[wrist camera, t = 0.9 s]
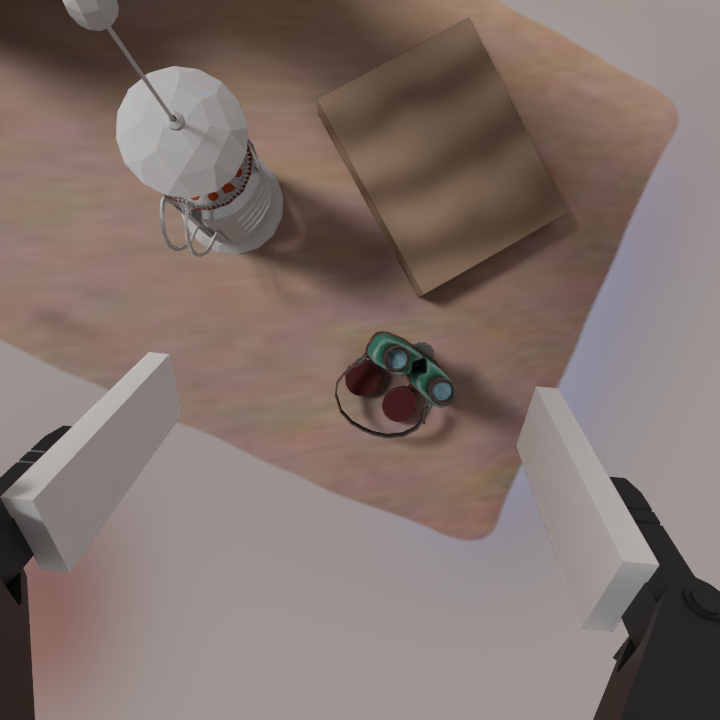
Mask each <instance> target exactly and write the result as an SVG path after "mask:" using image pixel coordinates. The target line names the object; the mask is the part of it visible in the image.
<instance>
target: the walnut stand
mask: <svg viewBox="0 0 720 720" xmlns="http://www.w3.org/2000/svg"><path fill="white" fill-rule="evenodd" d="M317 106H318V115H319V117H320V119H321V121H322V123H323V124H324V126H325V128H326V130H327V132H328V133H329V135H330V137H331V139H332V141H333V143H334V144H335V146H336V148H337V150H338V152H339V154H340V155H341V157H342V159H343V161H344V163H345V165H346V166H347V168H348V170H349V172H350V174H351V176H352V177H353V179H354V181H355V183H356V185H357V186H358V188H359V190H360V192H361V194H362V196H363V197H364V199H365V201H366V203H367V205H368V207H369V208H370V210H371V212H372V214H373V216H374V218H375V219H376V221H377V223H378V225H379V227H380V229H381V230H382V232H383V234H384V236H385V238H386V239H387V241H388V243H389V245H390V247H391V249H392V250H393V252H394V254H395V256H396V258H397V260H398V261H399V263H400V265H401V267H402V269H403V271H404V272H405V274H406V276H407V278H408V280H409V282H410V283H411V285H412V287H413V289H414V291H415V292H416V294H417V296H418V297H419V296H422V295H424V294H426V293H427V292H429V291H431V290H433V289H434V288H436V287H438V286H440V285H441V284H443V283H445V282H447V281H448V280H450V279H452V278H454V277H455V276H457V275H459V274H461V273H462V272H464V271H466V270H468V269H469V268H471V267H473V266H475V265H476V264H478V263H480V262H482V261H483V260H485V259H487V258H489V257H490V256H492V255H494V254H496V253H497V252H499V251H501V250H503V249H504V248H506V247H508V246H510V245H511V244H513V243H515V242H517V241H518V240H520V239H522V238H524V237H525V236H527V235H529V234H531V233H532V232H534V231H536V230H538V229H539V228H541V227H543V226H545V225H547V224H548V223H550V222H552V221H554V220H555V219H557V218H559V217H561V216H562V215H564V214H566V213H567V211H566V209H565V207H564V205H563V203H562V201H561V199H560V197H559V195H558V193H557V191H556V189H555V187H554V185H553V183H552V181H551V179H550V177H549V175H548V173H547V171H546V169H545V167H544V165H543V163H542V161H541V159H540V157H539V155H538V153H537V151H536V149H535V147H534V145H533V143H532V141H531V139H530V137H529V135H528V133H527V131H526V129H525V127H524V125H523V123H522V121H521V119H520V117H519V115H518V113H517V111H516V109H515V107H514V105H513V103H512V101H511V99H510V97H509V95H508V93H507V91H506V89H505V87H504V85H503V83H502V81H501V79H500V77H499V75H498V73H497V71H496V69H495V67H494V65H493V63H492V61H491V59H490V57H489V55H488V53H487V51H486V49H485V47H484V45H483V43H482V41H481V39H480V37H479V35H478V33H477V31H476V29H475V27H474V25H473V23H472V21H471V19H470V17H468V18H466V19H464V20H463V21H461V22H459V23H457V24H455V25H453V26H452V27H450V28H448V29H446V30H444V31H442V32H440V33H439V34H437V35H435V36H433V37H431V38H429V39H428V40H426V41H424V42H422V43H420V44H418V45H416V46H415V47H413V48H411V49H409V50H407V51H405V52H404V53H402V54H400V55H398V56H396V57H394V58H392V59H391V60H389V61H387V62H385V63H383V64H381V65H379V66H378V67H376V68H374V69H372V70H370V71H368V72H367V73H365V74H363V75H361V76H359V77H357V78H355V79H354V80H352V81H350V82H348V83H346V84H344V85H343V86H341V87H339V88H337V89H335V90H333V91H331V92H330V93H328V94H326V95H324V96H322V97H320V98H318V99H317Z"/></svg>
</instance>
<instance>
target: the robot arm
mask: <svg viewBox="0 0 720 720" xmlns="http://www.w3.org/2000/svg"><path fill="white" fill-rule="evenodd" d="M181 415H182V412H181V407H180V403H179V398H178V393H177V388H176V383H175V379H174V374H173V369H172V364H171V359H170V355H169V354H162V353H151V352H149V353H147V354H146V355H145V356H144V357H143V358H142V359H141V360H140V361H139V362H138V363H137V364H136V365H135V366H134V367H133V368H132V369H131V370H130V371H129V372H128V373H127V374H126V375H125V376H124V377H123V378H122V379H121V380H120V381H119V382H118V383H117V384H116V385H115V386H114V387H113V388H112V389H111V390H109V391H108V392H107V393H106V394H105V395H104V396H103V397H102V398H101V399H100V400H99V401H98V402H97V403H96V404H95V405H94V406H93V407H92V408H91V409H90V410H89V411H88V412H87V413H86V414H85V415H84V416H83V417H82V418H81V419H80V420H79V421H78V422H77V423H76V424H75V425H74V426H62V427H60V428H59V429H57V430H55V431H53V432H52V433H50V434H48V435H46V436H45V437H44V438H43V439H41V440H40V441H39V442H38V443H37V444H36V445H35V446H34V447H33V448H32V449H31V451H30V452H27V454H25V455H24V456H23V457H22V458H21V459H20V461H19V463H16V464H14V465H13V466H12V467H11V468H10V469H9V470H8V471H7V472H6V473H5V474H4V475H3V476H1V477H0V720H35V712H34V695H33V677H32V660H31V642H30V624H29V607H28V589H27V576H26V573H25V571H24V569H23V567H24V566H25V565H26V564H27V563H28V561H29V560H30V559H31V558H32V556H34V558H35V560H36V561H37V563H38V565H39V567H40V568H41V569H42V570H51V571H60V572H70V571H71V570H72V568H73V567H74V565H75V564H76V563H77V561H78V560H79V558H80V557H81V556H82V554H83V553H84V551H85V550H86V549H87V547H88V546H89V544H90V543H91V541H92V540H93V539H94V537H95V536H96V534H97V533H98V532H99V530H100V529H101V527H102V526H103V525H104V523H105V522H106V520H107V519H108V518H109V516H110V515H111V513H112V512H113V510H114V509H115V508H116V506H117V505H118V503H119V502H120V501H121V499H122V498H123V496H124V495H125V494H126V492H127V491H128V489H129V488H130V487H131V485H132V484H133V482H134V481H135V479H136V478H137V477H138V475H139V474H140V472H141V471H142V470H143V468H144V467H145V465H146V464H147V462H148V461H149V460H150V458H151V457H152V455H153V454H154V452H155V451H156V450H157V448H158V447H159V446H160V444H161V443H162V441H163V440H164V439H165V437H166V436H167V434H168V433H169V432H170V430H171V429H172V427H173V426H174V425H175V423H176V422H177V420H178V419H179V418H180V416H181ZM516 446H517V449H518V451H519V454H520V457H521V460H522V463H523V466H524V468H525V471H526V474H527V477H528V480H529V483H530V485H531V488H532V491H533V494H534V496H535V499H536V502H537V505H538V508H539V511H540V514H541V516H542V519H543V522H544V525H545V528H546V530H547V533H548V536H549V539H550V542H551V544H552V548H553V550H554V553H555V556H556V559H557V561H558V565H559V567H560V570H561V573H562V576H563V579H564V582H565V584H566V587H567V590H568V593H569V596H570V598H571V601H572V604H573V607H574V610H575V612H576V615H577V618H578V621H579V624H580V627H581V629H590V630H600V631H608V632H613V631H614V629H615V628H616V626H617V625H618V623H619V622H620V621H621V619H622V620H623V622H624V625H625V627H626V629H627V631H628V634H629V637H628V638H627V639H626V641H625V642H624V643H623V645H622V646H621V647H620V649H619V650H618V652H617V653H616V654H615V656H614V657H613V658H614V659H615V660H617V662H616V664H615V667H614V670H613V672H612V674H611V677H610V680H609V682H608V684H607V687H606V689H605V692H604V694H603V697H602V699H601V702H600V704H599V707H598V710H597V712H596V714H595V717H594V719H593V720H720V591H718V590H717V589H716V588H714V587H713V586H712V585H710V584H708V583H706V582H704V581H702V580H700V579H698V578H696V577H695V576H694V575H693V573H692V572H691V570H690V568H689V567H688V565H687V564H686V562H685V561H684V559H683V557H682V556H681V555H680V553H679V551H678V550H677V548H676V547H675V545H674V543H673V542H672V540H671V539H670V537H669V535H668V534H667V532H666V531H665V529H664V528H663V526H660V521H659V520H658V518H657V517H656V515H655V513H654V512H652V509H651V507H650V506H649V504H648V502H647V501H646V500H645V498H644V496H643V495H642V493H641V492H640V491H639V490H638V489H637V488H635V487H634V486H633V485H632V484H631V483H630V482H629V481H628V480H627V479H625V478H617V477H609V476H608V474H607V473H606V471H605V469H604V467H603V466H602V464H601V462H600V460H599V459H598V457H597V455H596V453H595V452H594V450H593V448H592V447H591V445H590V443H589V441H588V440H587V438H586V436H585V434H584V433H583V431H582V429H581V427H580V426H579V424H578V422H577V421H576V419H575V417H574V416H573V414H572V412H571V410H570V408H569V407H568V405H567V403H566V401H565V400H564V398H563V396H562V394H561V393H560V391H559V389H558V388H549V387H537V386H536V387H535V390H534V393H533V397H532V400H531V403H530V406H529V409H528V412H527V415H526V418H525V421H524V424H523V427H522V430H521V433H520V436H519V439H518V442H517V445H516Z"/></svg>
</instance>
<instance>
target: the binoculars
mask: <svg viewBox="0 0 720 720" xmlns="http://www.w3.org/2000/svg"><path fill="white" fill-rule="evenodd" d="M367 354H368V355H369V356H368V355H367ZM434 357H435V355H434V350H433V349H432V348H431V346H430V345H427V343H424V342H423V343H421V342H418V343H417V344H414V345H412V344H411V343H409V342H408V341H407V340H405V339H404V338H401V337H399V336H396V334H395V333H394V334H393V333H390V332H384V331H382V332H376V333H375V334H374V335H373V336H372V338H371V339H370V340H369V341H368V344H367V347H366V353H365V354H364V355H363V356H362V357H361V358H360V359H357V361H356V362H355V363H353V364H351V365H350V366H349V367H348V369H347V370H346V371H345V372H344V373H343V374H342V375H341V377H340V378H339V380H338V381H337V383H336V392H335V397H336V400H337V404H338V407H339V410H340V413H341V414H342V415H343V416H344V417H345V418H346V419H347V420H348V421H349V422H350V424H352V425H353V426H355V427H357V428H359V429H360V430H362V431H364V432H366V433H369V434H371V435H374V436H379V437H384V438H395V437H404V436H406V435H408V434H410V433H412V432H414V431H416V430H418V428H419V427H420V426H421V425H422V424H425V418H426V416H427V414H428V413H429V412H430V410H431V408H432V406H433V405H434V406H436V407H439V408H442V407H445V406H448V405H450V404H452V403H453V402H454V401H455V399H456V397H457V388H456V385H455V384H454V383H453V382H452V381H451V379H450V378H449V377H448V376H447V374H446V373H445V372H444V371H443V368H442V367H440V366H439V365H438V364H437V362H436V361H434V360H433V358H434ZM366 358H369V359H370V360H367V359H366ZM433 361H434V362H433ZM376 364H377V365H378V366H380V367H382V368H384V369H386V370H388V371H390V372H392V373H394V374H397V375H407V380H408V381H409V382H410V384H409V386H408V387H407V386H399V387H395V388H393V389H391V390H390V391H389V392H388V393H387V394H386V395H385V397H384V399H383V403H382V408H383V411H384V414H385V415H386V416H387V417H388V418H389V419H390V420H392V421H395V422H403V421H406V420H408V419H409V418H410V417H411V416H412V415H413V413H414V411H415V407H416V396H415V393H414V390H415V389H416V390H417V391H419V392H420V393H421V394H422V395H423V396H424V397H425V398H426V399H427V401H426V403H425V405H424V406H423V409H422V414H421V419H420V420H419V422H418V423H417V424H416V425H415V426H414V427H412V428H410V429H408V430H406V431H404V432H401V433H391V434H385V433H380V432H375V431H372V430H369V429H367V428H365V427H362V426H361V425H359V424H357V423H356V422H354V421H352V420H351V419H350V418H349V417H348V416H347V415H346V413H345V412H344V411H343V410H342V409H341V405H340V402H339V399H338V396H337V386H338V383H339V382H340V380H341V379H342V377H343V376H344V375H345V380H346V385H347V388H348V389H349V391H350V392H352V393H353V394H355V395H358V396H366V395H369V394H371V393H372V392H373V391H374V390H375V389H376V388H377V386H378V383H379V370H378V368H377V366H376ZM428 403H430V406H429V408H428V407H427V404H428Z"/></svg>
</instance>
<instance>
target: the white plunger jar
mask: <svg viewBox="0 0 720 720" xmlns="http://www.w3.org/2000/svg"><path fill="white" fill-rule="evenodd" d="M63 3H64V5H65V7H66V9H67V11H68V13H69V15H70V16H71V17H72V18H73V19H74V20H75V21H76V22H77V23H78V24H79V25H80V26H82V27H84V28H86V29H88V30H95V31H101V30H105V29H107V30H108V32H109V33H110V35H111V36H112V37H113V39H114V40H115V42H116V43H117V44H118V46H119V47H120V49H121V50H122V51H123V53H124V54H125V56H126V57H127V58H128V60H129V61H130V63H131V64H132V65H133V67H134V68H135V70H136V71H137V72H138V74H139V75H140V77H141V78H142V79H141V80H139V81H138V82H137V83H136V84H134V85H133V86H132V87H131V88H130V89H129V90H128V92H127V94H126V96H125V98H124V100H123V102H122V104H121V106H120V108H119V110H118V112H117V128H116V140H117V143H118V146H119V148H120V151H121V154H122V157H123V160H124V162H125V164H126V165H127V166H128V167H129V169H130V170H131V171H132V172H133V173H134V174H135V175H136V176H137V177H138V178H139V179H140V180H141V182H142V183H143V184H145V185H147V186H149V187H151V188H153V189H155V190H157V191H159V192H161V193H163V194H164V195H165V196H164V197H163V198H161V202H160V223H161V228H162V233H163V236H164V238H165V241H166V243H167V245H168V247H170V248H171V249H173V250H175V251H181V250H183V249H185V248H187V247H188V248H189V250H190V252H191V253H192V254H193V255H195V256H198V257H202V256H204V255H206V254H207V253H208V252H209V251H210V249H213V250H215V251H217V252H219V253H229V254H242V253H245V252H248V251H251V250H254V249H258V248H259V247H261V246H262V245H263V244H264V243H265V242H266V241H267V240H269V239H270V238H271V237H272V236H273V235H274V233H275V231H276V229H277V227H278V225H279V223H280V221H281V219H282V213H283V195H282V192H281V189H280V186H279V183H278V180H277V177H276V176H275V175H274V174H273V173H272V172H271V170H270V169H269V168H268V167H267V166H266V165H265V163H264V162H262V161H261V160H259V159H257V158H258V156H257V154H256V151H255V149H254V146H253V144H252V143H251V142H250V140H249V139H248V125H247V122H246V120H245V117H244V114H243V111H242V109H241V106H240V103H239V101H238V100H237V99H236V98H235V97H234V95H233V94H232V93H231V92H230V91H229V90H228V88H227V87H226V86H225V85H224V84H223V82H221V81H220V80H218V79H216V78H214V77H212V76H210V75H209V74H207V73H205V72H203V71H201V70H199V69H194V68H186V67H178V66H172V67H168V68H164V69H161V70H157V71H154V72H150V73H148V74H147V75H144V74H143V72H142V71H141V69H140V68H139V66H138V65H137V63H136V62H135V61H134V59H133V58H132V56H131V55H130V53H129V52H128V50H127V49H126V48H125V46H124V45H123V43H122V42H121V40H120V39H119V37H118V36H117V34H116V33H115V32H114V30H113V29H112V27H111V25H112V24H113V23H114V22H115V20H116V18H117V16H118V11H119V5H118V2H117V0H63ZM249 147H250V148H251V150H252V151H253V152H254V153H255V155H256V156H257V157H256V156H255V155H254V154H253V153H252V151H251V150H250V148H249ZM251 153H252V154H253V156H254V157H253V156H252V154H251ZM171 199H172V200H173V201H172V200H171ZM166 201H168V202H169V203H171V204H172V205H174V206H175V207H176V208H177V209H178V210H179V211H180V212H181V214H182V217H183V219H184V222H185V223H184V229H185V236H186V245H184V246H182V247H180V248H178V247H176V246H173V245H171V243H170V241H169V239H168V237H167V234H166V231H165V224H164V205H165V202H166ZM178 206H179V207H178ZM189 231H190V232H191V233H192V235H191V237H189ZM194 237H195V238H196V239H197V240H198V241H199V242H200V243H201V244H203V245H205V246H207V249H206V251H205V252H203V253H197V252H195V251H194V250H193V248H192V245H191V242H192V241H193V239H194Z"/></svg>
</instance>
